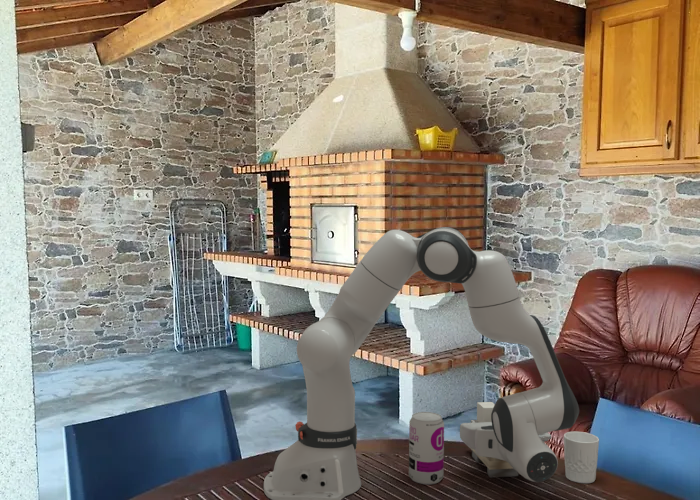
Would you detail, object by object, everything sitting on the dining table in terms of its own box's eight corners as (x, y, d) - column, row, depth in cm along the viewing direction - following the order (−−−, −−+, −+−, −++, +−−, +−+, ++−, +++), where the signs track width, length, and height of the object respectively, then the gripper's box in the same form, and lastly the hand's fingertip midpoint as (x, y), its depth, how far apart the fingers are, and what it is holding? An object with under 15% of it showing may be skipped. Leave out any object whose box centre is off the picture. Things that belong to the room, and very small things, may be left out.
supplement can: (450, 478, 149) (451, 416, 148) (429, 488, 143) (430, 424, 142) (422, 468, 155) (423, 409, 154) (401, 478, 149) (402, 416, 148)
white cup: (600, 486, 145) (601, 443, 145) (565, 483, 147) (566, 441, 146) (594, 472, 153) (595, 432, 152) (560, 470, 154) (561, 430, 154)
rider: (483, 446, 159) (483, 408, 158) (476, 440, 164) (477, 402, 163) (498, 446, 159) (498, 407, 159) (491, 439, 164) (491, 401, 164)
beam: (489, 477, 149) (489, 454, 149) (466, 451, 166) (466, 430, 166) (519, 476, 150) (520, 453, 150) (494, 450, 167) (494, 429, 167)
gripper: (555, 426, 147) (530, 408, 160) (471, 429, 144) (453, 411, 157) (554, 452, 147) (529, 432, 161) (470, 456, 144) (452, 436, 158)
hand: (491, 422), depth 159 cm, fingers open, 8 cm apart
